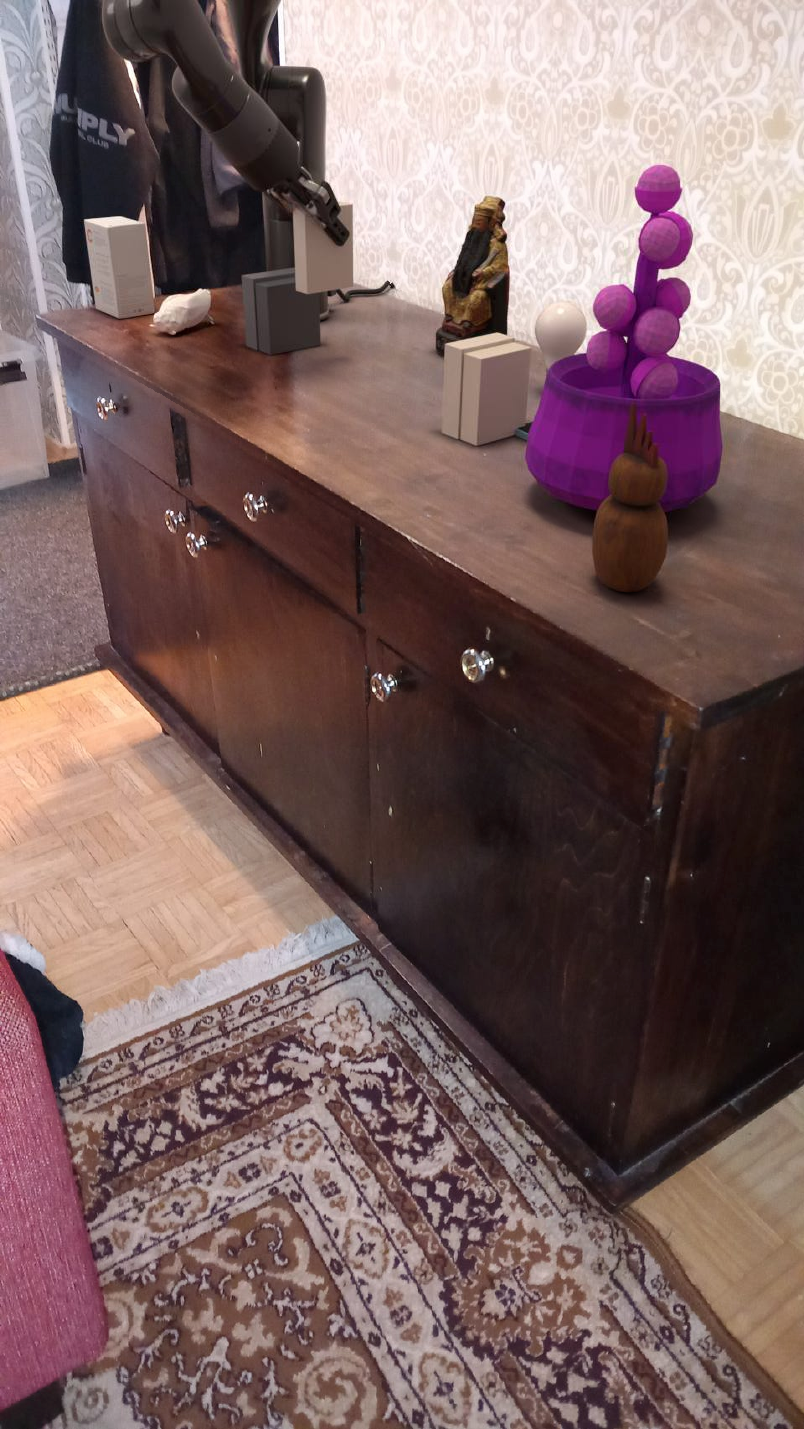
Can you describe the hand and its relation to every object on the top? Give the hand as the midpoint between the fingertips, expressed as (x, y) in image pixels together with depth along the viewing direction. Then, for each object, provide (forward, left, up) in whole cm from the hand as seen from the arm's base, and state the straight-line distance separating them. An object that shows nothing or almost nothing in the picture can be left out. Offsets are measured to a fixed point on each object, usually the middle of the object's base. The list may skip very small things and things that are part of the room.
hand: (336, 237), depth 138 cm
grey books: (-3, -10, -15) cm, 19 cm away
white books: (+21, +27, -15) cm, 37 cm away
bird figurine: (-5, -27, -16) cm, 32 cm away
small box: (-11, -41, -16) cm, 45 cm away
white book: (+2, -1, -6) cm, 6 cm away
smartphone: (+16, +37, -16) cm, 43 cm away
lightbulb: (+3, +31, -16) cm, 35 cm away
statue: (-8, +17, -16) cm, 25 cm away
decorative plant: (+35, +45, -16) cm, 59 cm away
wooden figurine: (+53, +49, -16) cm, 74 cm away
